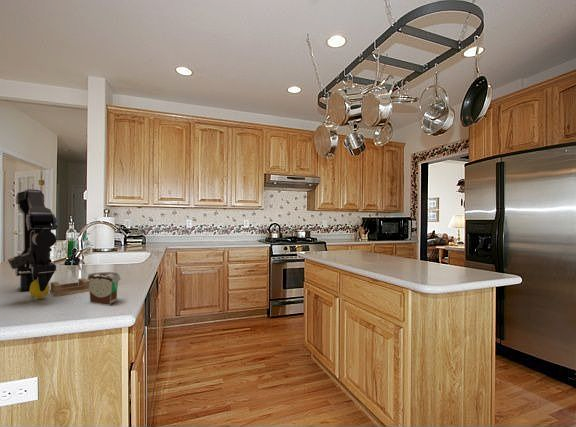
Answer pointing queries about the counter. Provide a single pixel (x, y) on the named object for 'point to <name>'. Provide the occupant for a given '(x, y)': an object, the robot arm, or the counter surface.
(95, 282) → the food container
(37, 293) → the lemon
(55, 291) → the cradle
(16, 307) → the counter surface
